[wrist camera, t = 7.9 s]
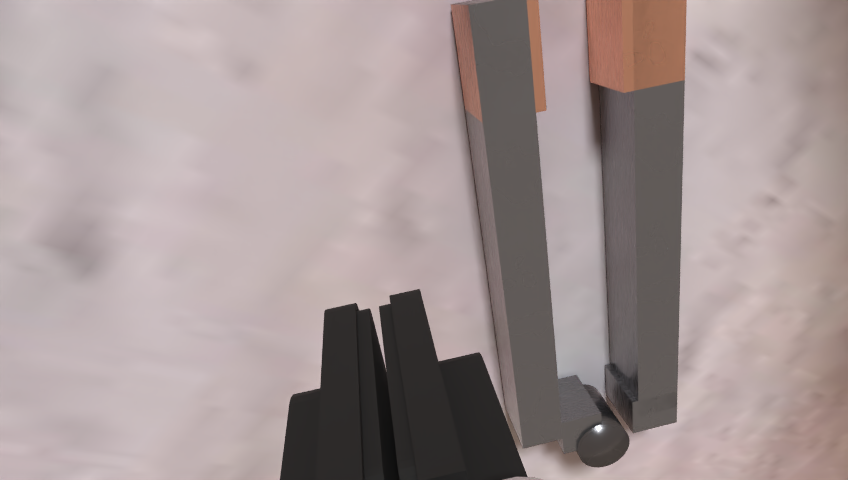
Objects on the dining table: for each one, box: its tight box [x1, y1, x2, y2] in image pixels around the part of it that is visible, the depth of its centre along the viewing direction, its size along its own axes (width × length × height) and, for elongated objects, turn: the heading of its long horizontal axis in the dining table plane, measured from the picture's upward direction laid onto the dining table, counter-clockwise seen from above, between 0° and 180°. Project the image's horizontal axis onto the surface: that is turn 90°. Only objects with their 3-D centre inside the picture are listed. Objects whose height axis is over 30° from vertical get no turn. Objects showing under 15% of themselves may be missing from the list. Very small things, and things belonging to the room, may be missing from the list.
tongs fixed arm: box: [586, 0, 686, 433], centre depth 25 cm, size 2×21×3 cm, turn 10°
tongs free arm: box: [451, 0, 629, 467], centre depth 24 cm, size 5×22×3 cm, turn 10°
